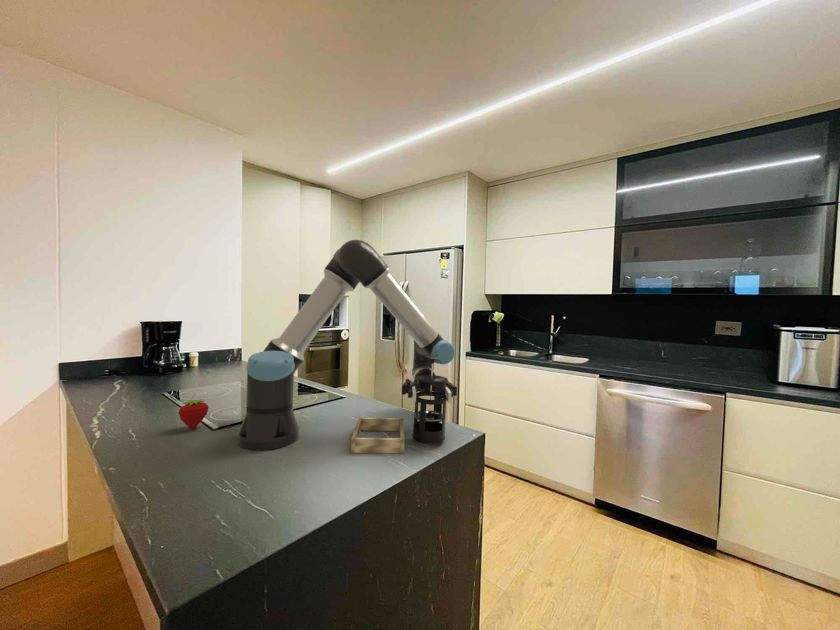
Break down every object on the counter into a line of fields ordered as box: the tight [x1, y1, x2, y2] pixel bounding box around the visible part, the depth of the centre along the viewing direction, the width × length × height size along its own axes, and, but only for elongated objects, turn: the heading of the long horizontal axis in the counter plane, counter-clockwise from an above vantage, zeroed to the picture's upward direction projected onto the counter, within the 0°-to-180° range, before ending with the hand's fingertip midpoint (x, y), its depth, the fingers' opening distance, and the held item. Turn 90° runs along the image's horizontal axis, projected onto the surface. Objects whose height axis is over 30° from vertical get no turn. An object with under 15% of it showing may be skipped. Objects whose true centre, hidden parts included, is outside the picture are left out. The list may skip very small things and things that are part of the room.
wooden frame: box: [350, 417, 405, 454], centre depth 94 cm, size 14×17×4 cm
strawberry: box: [178, 395, 210, 430], centre depth 97 cm, size 6×8×10 cm
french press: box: [411, 356, 449, 445], centre depth 95 cm, size 12×9×23 cm
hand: (432, 397), depth 90 cm, fingers closed on french press, 9 cm apart
